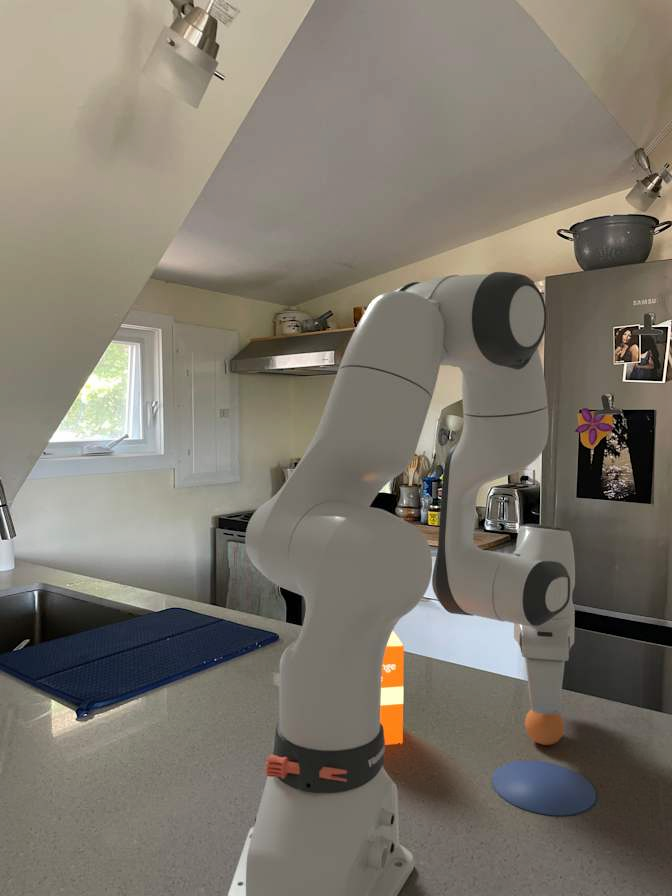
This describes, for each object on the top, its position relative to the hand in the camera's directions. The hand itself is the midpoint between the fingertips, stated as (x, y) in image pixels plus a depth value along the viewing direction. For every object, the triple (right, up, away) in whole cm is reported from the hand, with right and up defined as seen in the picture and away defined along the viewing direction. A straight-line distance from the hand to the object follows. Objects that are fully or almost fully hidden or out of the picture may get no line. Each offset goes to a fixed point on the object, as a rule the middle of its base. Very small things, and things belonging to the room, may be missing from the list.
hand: (542, 717), depth 107 cm
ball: (-1, 0, -4) cm, 4 cm away
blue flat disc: (-5, -3, -16) cm, 17 cm away
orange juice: (-26, -2, -1) cm, 27 cm away
